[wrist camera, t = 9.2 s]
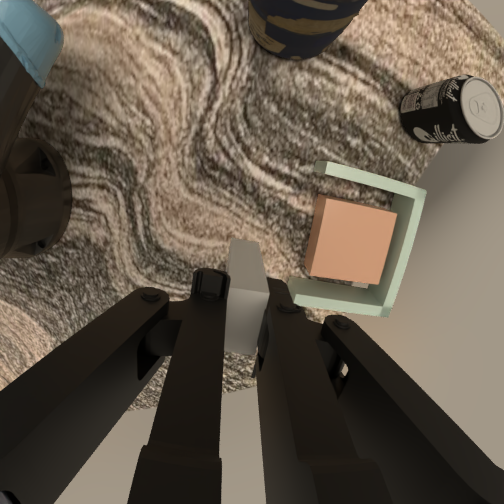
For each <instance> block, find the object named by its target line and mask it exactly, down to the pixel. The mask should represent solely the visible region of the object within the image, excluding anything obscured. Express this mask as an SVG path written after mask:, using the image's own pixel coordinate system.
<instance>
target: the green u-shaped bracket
mask: <svg viewBox="0 0 504 504" xmlns="http://www.w3.org/2000/svg"><path fill="white" fill-rule="evenodd" d="M314 172H318V173H323V174H327V175H331V176H335V177H339V178H343V179H347V180H350V181H354V182H358V183H362V184H365V185H369V186H373V187H376V188H380V189H383V190H387V191H390V192H393V193H394V196H393V200H392V205H391V209H390V211H392V212H394V213H397V217H396V221H395V225H394V229H393V233H392V237H391V241H390V245H389V249H388V253H387V256H386V260H385V264H384V267H383V271H382V274H381V277H380V281H379V284H378V285H377V284H369V286H368V289H366V288H360V287H354V286H347V285H341V284H335V283H329V282H323V281H317V280H311V279H305V278H299V277H293V276H289V280H288V284H287V286H288V289H289V292H290V295H291V297H292V300H293V303H295V304H297V305H299V306H306V307H313V308H320V309H327V310H334V311H341V312H350V313H357V314H364V315H373V316H381V317H389V314H390V311H391V309H392V306H393V303H394V301H395V298H396V295H397V292H398V289H399V286H400V283H401V280H402V277H403V274H404V271H405V268H406V265H407V262H408V259H409V255H410V252H411V249H412V246H413V242H414V239H415V235H416V232H417V228H418V224H419V220H420V217H421V212H422V208H423V205H424V200H425V195H426V190H424V189H421V188H417V187H415V186H412V185H409V184H405V183H402V182H399V181H396V180H393V179H390V178H386V177H383V176H380V175H376V174H373V173H369V172H366V171H362V170H359V169H355V168H352V167H348V166H344V165H340V164H337V163H333V162H329V161H316V162H315V167H314Z"/></svg>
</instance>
